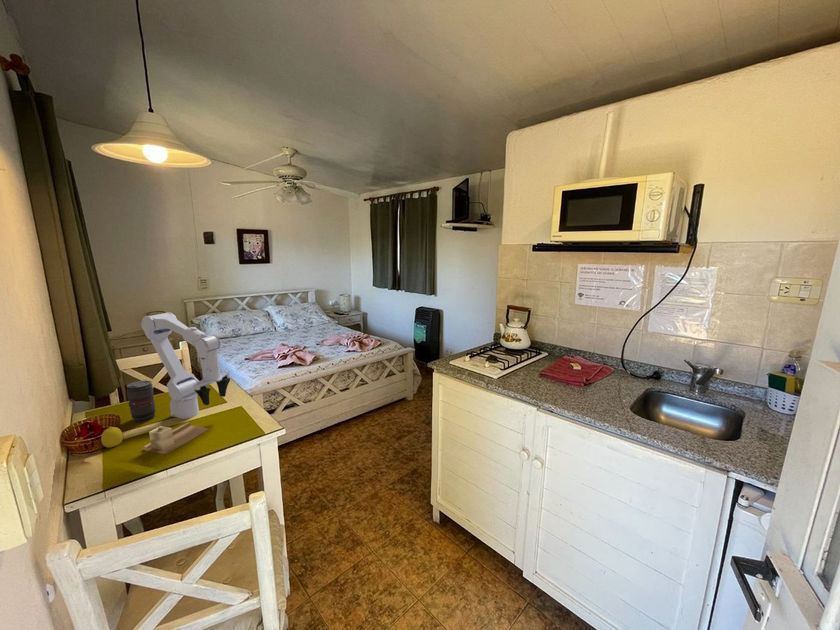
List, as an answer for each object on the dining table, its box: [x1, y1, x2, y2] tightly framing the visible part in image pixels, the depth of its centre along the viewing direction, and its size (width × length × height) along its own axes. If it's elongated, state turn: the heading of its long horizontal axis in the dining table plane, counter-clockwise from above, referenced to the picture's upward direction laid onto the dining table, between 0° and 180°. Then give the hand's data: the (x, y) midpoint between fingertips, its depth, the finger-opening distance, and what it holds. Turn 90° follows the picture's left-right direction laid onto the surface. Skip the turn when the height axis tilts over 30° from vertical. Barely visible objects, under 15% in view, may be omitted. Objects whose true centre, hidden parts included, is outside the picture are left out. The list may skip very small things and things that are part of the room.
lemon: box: [100, 426, 124, 448], centre depth 119 cm, size 6×6×8 cm
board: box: [142, 422, 210, 455], centre depth 123 cm, size 10×17×3 cm, turn 166°
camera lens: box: [126, 380, 156, 423], centre depth 139 cm, size 8×8×15 cm
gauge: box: [148, 425, 174, 450], centre depth 118 cm, size 5×4×7 cm
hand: (214, 400), depth 135 cm, fingers open, 7 cm apart
